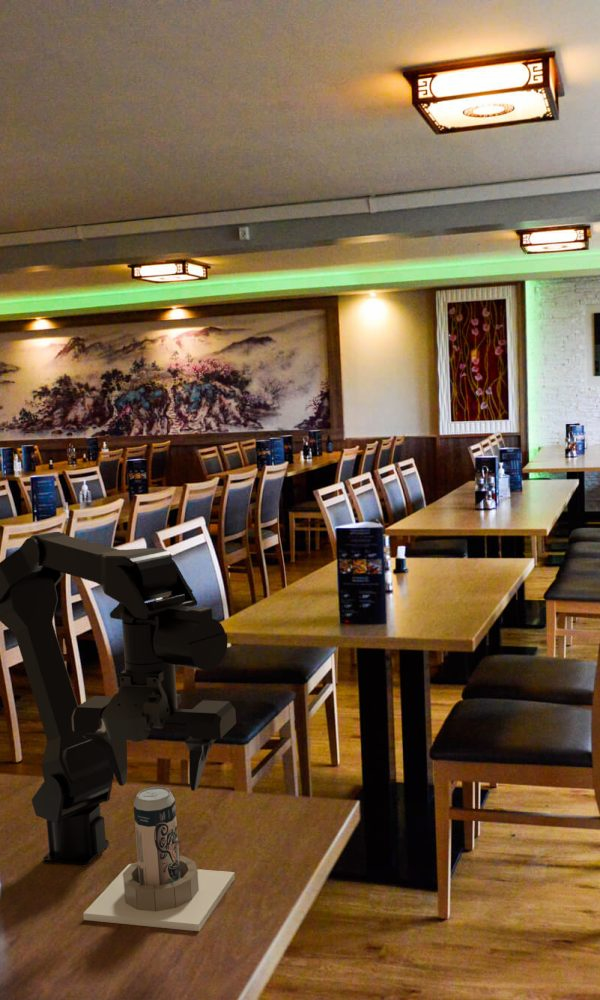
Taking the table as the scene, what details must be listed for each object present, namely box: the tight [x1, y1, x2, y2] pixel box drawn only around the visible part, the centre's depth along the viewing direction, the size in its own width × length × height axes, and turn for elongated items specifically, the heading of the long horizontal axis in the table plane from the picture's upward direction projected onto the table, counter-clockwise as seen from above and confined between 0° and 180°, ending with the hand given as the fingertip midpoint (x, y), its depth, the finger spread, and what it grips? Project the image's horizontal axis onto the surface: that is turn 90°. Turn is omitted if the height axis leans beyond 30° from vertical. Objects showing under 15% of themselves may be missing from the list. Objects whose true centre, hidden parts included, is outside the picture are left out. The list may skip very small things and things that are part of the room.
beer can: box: [133, 786, 181, 886], centre depth 114 cm, size 5×5×12 cm
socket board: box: [83, 854, 236, 932], centre depth 114 cm, size 14×12×3 cm
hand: (158, 787), depth 115 cm, fingers open, 9 cm apart
